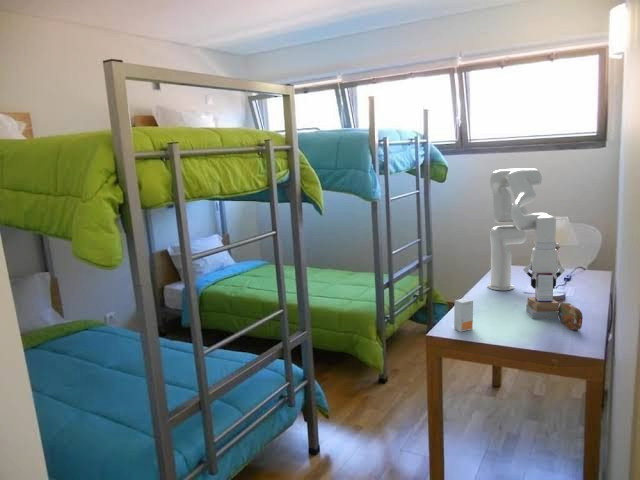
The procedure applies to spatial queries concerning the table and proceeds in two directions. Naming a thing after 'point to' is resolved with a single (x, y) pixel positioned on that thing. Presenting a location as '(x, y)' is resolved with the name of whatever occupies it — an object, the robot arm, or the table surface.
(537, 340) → the table surface
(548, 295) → the supplement box
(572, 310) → the tin
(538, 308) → the tower top
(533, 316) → the tower base
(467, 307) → the skincare box
